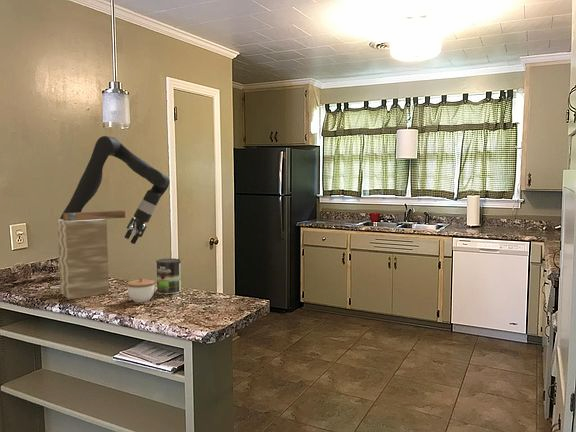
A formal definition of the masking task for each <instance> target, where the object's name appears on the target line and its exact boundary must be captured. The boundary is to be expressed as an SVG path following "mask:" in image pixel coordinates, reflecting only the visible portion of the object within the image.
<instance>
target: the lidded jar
mask: <svg viewBox="0 0 576 432" xmlns="http://www.w3.org/2000/svg"><path fill="white" fill-rule="evenodd" d="M155 283H156V281H155V280H154V279H146V278H143V277H139V279H134V280H133V279H132V280H129V281H128V282H127V283H126V285H127V293H128V297H129V298H130V299H131V300H132V301H133V302H134V303H139V304H141V303H146V302H149V301H150V299H151V298H152V297H153V295H154V293H155V287H156V286H155Z"/></svg>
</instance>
